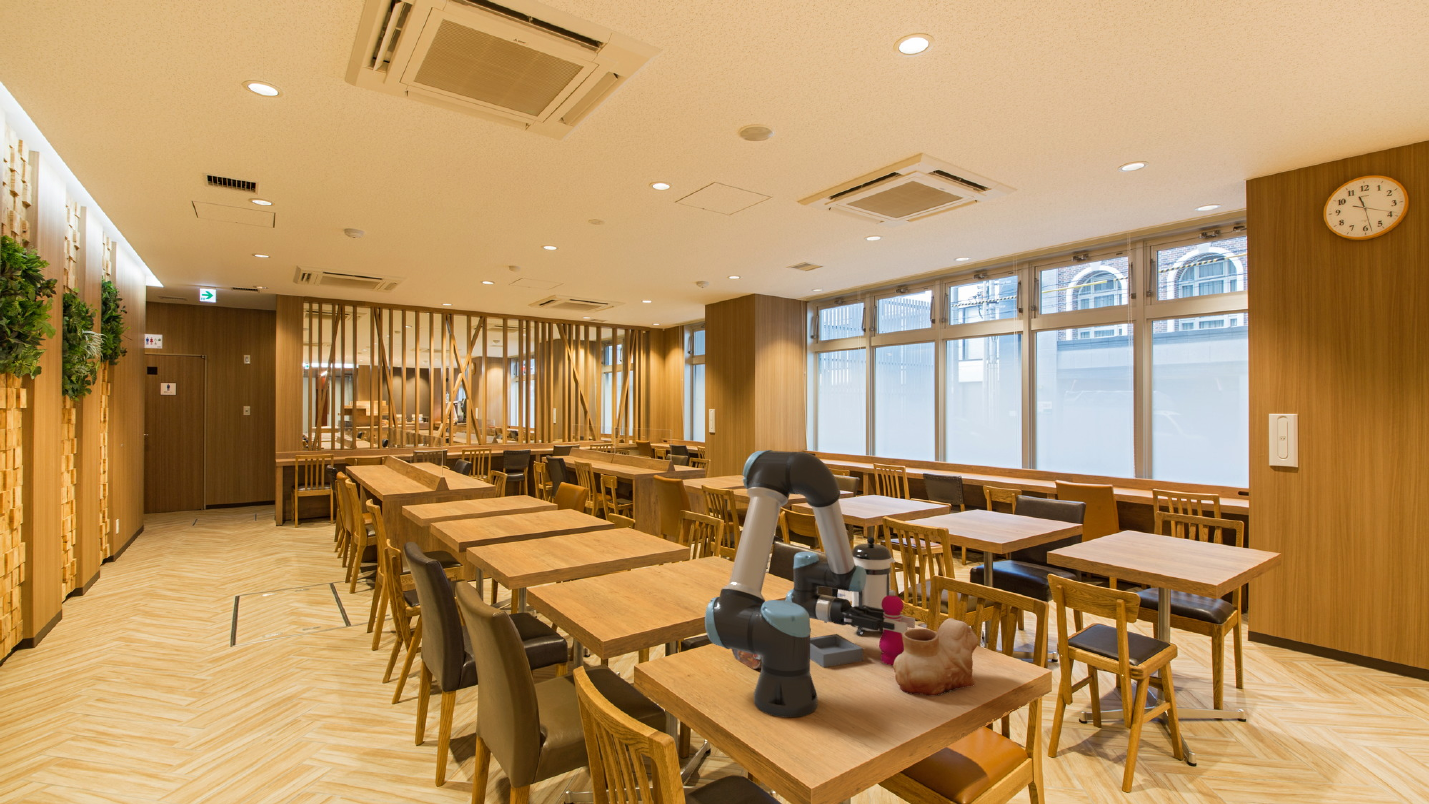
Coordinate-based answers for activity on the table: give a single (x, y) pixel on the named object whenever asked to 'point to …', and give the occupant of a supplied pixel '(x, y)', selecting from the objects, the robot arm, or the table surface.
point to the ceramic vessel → (936, 659)
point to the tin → (748, 659)
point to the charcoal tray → (834, 650)
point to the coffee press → (871, 576)
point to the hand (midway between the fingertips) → (910, 625)
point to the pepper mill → (891, 640)
